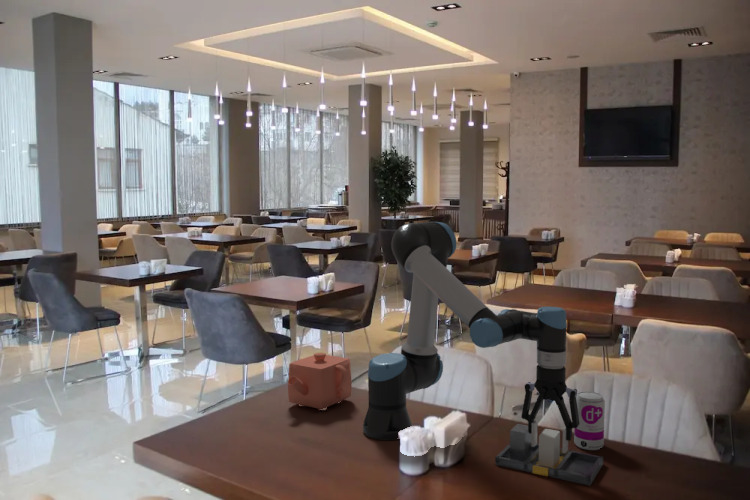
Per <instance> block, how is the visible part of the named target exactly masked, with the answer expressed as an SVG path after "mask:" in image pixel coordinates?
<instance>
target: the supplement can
mask: <svg viewBox="0 0 750 500" xmlns="http://www.w3.org/2000/svg"><path fill="white" fill-rule="evenodd" d="M576 401H577V408H578V415H579V423H580V424H579V426H578V427H577V428H573V443H574V444H575V445H576V447H577V448H580V449H582V450H586V451H598V450H600V448H603V447H604V443H605V442H604V441H605V440H604V438H605V410H606V408H605V407H606V406H605V405H606V403H605V402H606V400H605V399H604V397H603V394H600V393H598V392H594V391H578V392H577V396H576Z"/></svg>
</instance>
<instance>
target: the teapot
mask: <svg viewBox="0 0 750 500" xmlns="http://www.w3.org/2000/svg"><path fill="white" fill-rule="evenodd" d="M287 384H288V385H287V395H288V402H289V403H293V404H297V405H299V404H300V405H304V406H303V407H309V408H315V409H317V410H318V409H323V408H326V407H331V406H333V405H336V404H335V403H338V402H340V401H342V402H343V401H344V400H346V399H348V398H350V397H351V396H352V389H353V387H352V386H353V385H352V369H351V359H350V358H349V357H343V356H336V355H330V354H327V353H325V352H316V353H313V355H309V356H307V357H304V358H300V359H298V360H295V361H291V362H290V363H289V365H288V379H287Z"/></svg>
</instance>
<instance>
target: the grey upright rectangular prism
mask: <svg viewBox="0 0 750 500" xmlns="http://www.w3.org/2000/svg"><path fill="white" fill-rule="evenodd" d="M538 444H539V465H543V466H548V467H552V468H554V466H555V465H556V464H557V462H558V461H559V460H560V448H561V431H559V430H555V429H549V428H544V429H543V430H542V431H541V433H540V434H539V435H538Z"/></svg>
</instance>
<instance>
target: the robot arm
mask: <svg viewBox="0 0 750 500" xmlns="http://www.w3.org/2000/svg"><path fill="white" fill-rule="evenodd" d="M456 249H457V238H456V235H455V233H454V231H453V229H452V228H451V227H450V225H448V224H446V223H445V222H439V221H424V222H423V221H422V222H409V223H405V224H403V225H401V226H400V227H398V228H397V229H396V230H395V232H394V233H393V235H392V239H391V251H392V255H393V256H394V258H395V260H396V261H397V263H398V264H399V265H400V266H401V267H402V268H403V269H404V270H405V271H406V272H407V273H413V274H412V275H413V276H412V283H411V284H412V286H411V294H410V303H409V304H410V305H409V306H410V307H409V314H408V315H409V316H408V318H409V319H408V328H407V336H406V337H407V338H406V341H405V342H403V344H402V345H401V349H400V353H398V352H388V353H381V354H378V355H376V356H374V357H373V358H371V359H370V360H369V363H368V370H367V379H368V381H367V382H368V383H367V385H368V387H367V390H368V408H367V411H366V414H365V418H364V421H363V424H362V433H363V432H364V433H365V434H366V435H367V436H366V435H365V434H364V433H363V434H364V435H365V436H366V437H368V436H369V437H368V438H370V437H372V438H371V439H373V438H375V439H374V440H378V439H380V441H395V440H394V439H397V438H398V432H399V431H400V430H403V429H405V428H407V427H410V426H412V427H413V423H412V421H411V417H410V413H409V411H408V408H407V394H410V393H413V392H416V391H419V390H423V389H424V390H425V389H428V388H430V387H432V386H433V385H435V384H437V383H438V382H439V380H440V379H441V377H442V375H443V371H444V364H443V361H442V360H441V359H442V357H441V356H440V354H439V351H438V348H437V347H436V346H435V344H434V342H435V334H436V327H437V326H436V323H437V317H438V316H437V315H438V306H439V300H440V301H441V302H442V303H443V304H445V306H446V307H447V308H448V309H449V310H450V311H451V312H453V314H454V315H455V316H456V317H457V318H458V319H460V320H461V322H462V323H464V325H465V326H467V328H469V336H470V338H471V341H472V343H473V344H474V345H475V346H477V347H479V348H482V349H483V348H484V349H485V348H487V349H488V348H494V347H496V346H498V345H502V344H505V343H510V342H512V341H513V342H514V341H516V340H528V341H532V342H535V341H536V363H537V365H536V376H535V378H536V380H535V382H531V381H528V382H527V383H525V384H524V391H525V393H524V400H523V405H522V411H521V417H520V418H521V419H523V420H526V421H527V424H528V425H527V426H528V432H529V433H531V447H535V446H536V444H538V420H536V418H537V415H538V412H539V410H540V409H541V407H542V404H543V402H544V400H545V401H546V400H547V401H552V402H555V405H556V406H557V408H558V411H559V414H560V415H561V419H562V421H563V424H564V427H563V428H562V444H561V445H562V448H561V449H562V453H566V452H567V450H569V441H571V440H572V438H573V429H574V428H577V427H578V426H579V424H580V423H579V415H578V408H577V401H576V396H577V394H578V390H577V388H573V389H572V388H569V387H568V386H567V384H566V374H567V372H566V369H567V368H566V364H567V346H566V345H567V328H568V324H567V312H566V310H565V309H564V308H562V307H558V306H542V307H539V308H538V309H537V311H536V312H537V313H536V312H530V311H523V310H517V309H515V308H514V309H513V308H512V309H508V308H507V309H506V308H505V309H502V310H500V312H499V313H498V314H495V312H493V310H491V308H489V307H488V306H487V305H486V304H485V303H484V302H483V301H482V300H481V299H480V298H479V297H477V296H476V294H475V293H473V292H472V291H471V290H470V289H469V288H468V287H467V286H466V285H465V284H464V283H463V282H462V281H460V280H459V279H458V278H457V277H456V276H455V275H454V274H453V273H452V272H451V271H450V270H449V269H448V268H447V267H448V260H449V258H451V257H452V256H453V255H454V254H455V252H456ZM534 390H536V391H537V393H538V397H537V399H536V401H535V403H534V406H533V407H532V410H531V412H530V408H531V403H532V398H533V391H534ZM565 393H566V394H567V397H568V402H569V408H570V409H569V410H570V414H569V410H568V409H567V406H566V403H565V400H564V396H563V395H564V394H565ZM397 440H398V439H397Z"/></svg>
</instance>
